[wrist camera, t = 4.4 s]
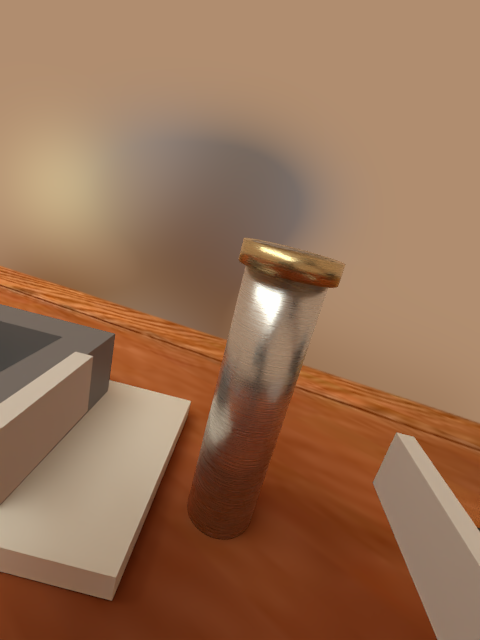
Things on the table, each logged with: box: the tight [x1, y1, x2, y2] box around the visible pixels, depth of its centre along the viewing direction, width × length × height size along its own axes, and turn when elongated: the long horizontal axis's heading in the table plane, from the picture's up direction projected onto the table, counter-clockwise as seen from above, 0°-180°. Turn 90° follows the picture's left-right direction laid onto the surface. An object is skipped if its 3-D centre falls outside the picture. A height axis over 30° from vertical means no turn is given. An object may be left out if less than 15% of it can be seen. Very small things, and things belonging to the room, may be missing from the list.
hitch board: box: [0, 304, 191, 601], centre depth 20 cm, size 18×14×6 cm
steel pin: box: [187, 238, 345, 539], centre depth 17 cm, size 5×5×16 cm
